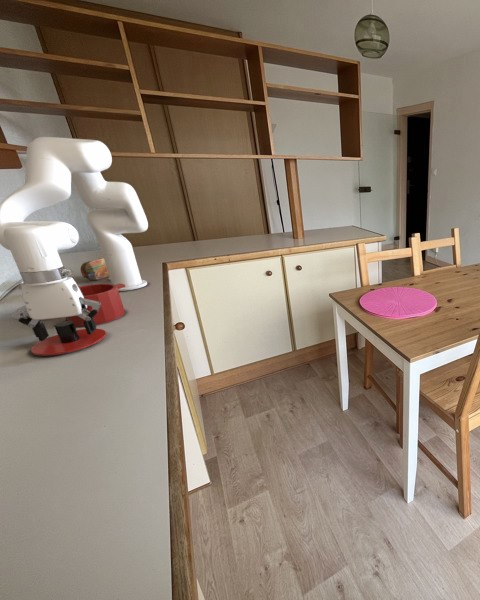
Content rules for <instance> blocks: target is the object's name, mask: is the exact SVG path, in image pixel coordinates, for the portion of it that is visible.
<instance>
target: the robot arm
mask: <svg viewBox="0 0 480 600" xmlns="http://www.w3.org/2000/svg"><path fill="white" fill-rule="evenodd" d="M112 157H113V156H112V154H111V151H110V149H109V147H108V146H107V145H106V144H105V143H104V142H102V141H100V140H96V139H85V138H71V137H70V138H69V137H55V136H38V137H36V138H34V139H33V140H32V141H31V142H30V143H29V144H28V145H27V147H26V159H25V175H24V184H23V185H21V187H19V188H16V190H14V191H13V192H11V193H10V194H9V195H8V196H7V197H5V198H4V199H3V200H2V201H1V202H0V246H1V247H3V248H4V249H6V250H8V251H10V253H11V256H12V257H13V261H14V262H15V265H16V267H17V269H18V271H19V274H20V276H21V279H22V281H24V282H23V283H22V284H21V287H22V290H21V294H22V299H23V303H24V305H22V306H21V307H18V308H17V309H15V310H13V311H12V312H10V316H11V317H13V318H14V319H16V320H17V321H18V322H19V323H21V324H22V325H26V326H27V327H28V328H29V329H32V332H33V333H34V336H35V337H36V338H37V339H38V342H40V341H43V340H45V339H47V338H49V337H50V335H49V332H48V330H47V327H46V325H45V323H44V322H42V321H45V320H53V319H62V318H63V319H64V318H66V317H71V316H79V317H80V318H82V319H84V320H85V321H84V322H83V323H84V326H83V327H84V329H86V331H87V334H92V333H93V332H94V331H95V329H97V325H95V322H94V319H93V317H94V316H95V315H96V314H97V313H98V311H99V309H100V306H101V303H100V302H97V301H93V300H89V299H85V298H84V297H83V295H82V293H81V291H80V289H79V285H78V284H77V282H76V281H75V280H74V278H73V277H72V276H69V275H73V273H74V272H73V270H72V269H71V268H69V269H68V268H66V267H65V266H64V265H63V262H62V259H61V257H60V255H59V251H65V250H70V249H73V248H75V246H77V245H78V243H79V240H80V235H79V231H78V230H77V229H76V227H74V226H73V225H72V224H71V223H68V222H65V221H59V220H46V221H45V220H44V221H40V220H39V221H37V220H36V221H31V220H30V221H25V220H26V219H27V217H29V216H30V215H31V214H33V213H35V212H37V211H39V210H42V209H44V208H48V207H51V206H53V205H57V204H59V203H62V202H65V201H66V200H68V199H70V197H71V195H72V185H73V187H74V189H75V191H76V192H77V194H78V196H79V198H80V200H81V201H82V202H83V204H84V205H85V206H86V207H88V208H90V209H92V210H89V212H88V213H87V215H86V219H87V222H88V224H89V226H90V228H91V230H92V232H93V234H94V236H95V238H96V241H97V243H98V245H99V248H100V251H101V254H102V258H104V261H105V264H106V267H107V270H108V273H109V276H108V277H107V278H108V281H110V282H111V283H110V284H114V285H116V284H125V287H124V288H120V289H118V291H119V292H127V291H133V290H137V289H140V288H141V289H142V288H143V287H146V286H147V285H148V281H147V280H145V279H142V277H141V274H140V273H141V272H140V269H139V266H138V263H137V259H136V255H135V252H134V249H133V248H134V247H133V245H132V243H131V241H129V240H128V238H126V237H125V236H123V234H139V233H140V234H141V233H144V232H147V231H148V228H149V221H148V219H147V215H146V213H145V210H144V208H143V206H142V203H141V201H140V199H139V196H138V194H137V191H136V190H135V188H134V187H133V186H132V185H131V184H129V183H127V182H124V181H107V180H105V178H104V177H103V175H102V173H101V172H104V171H106V170H108V169H109V168H110V167H111V166H112V162H113V158H112ZM87 305H88V306H92V311H91V312H89V311H88V310H86V309H87ZM26 312H27V314H28V316H27V315H25V314H24V313H26Z"/></svg>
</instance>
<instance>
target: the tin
mask: <svg viewBox="0 0 480 600" xmlns="http://www.w3.org/2000/svg"><path fill="white" fill-rule="evenodd" d="M80 273H81V275H82V277H83V278H84V279H86V280H88V281H99V280H102V279H105V278H109V277H110V276H109V273H108V270H107V267H106V264H105V261H104V258H103V257H99V258H96V259H92V260H89V261H85V262H83V263H82V264H81V266H80Z"/></svg>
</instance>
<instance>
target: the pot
mask: <svg viewBox="0 0 480 600" xmlns="http://www.w3.org/2000/svg"><path fill="white" fill-rule="evenodd" d="M78 287H79V289H80V291H81V293H82V295H83V297H84V298H85V299H89V300H93V301H97V302H100V303H101V306H100V309H99V311H98V313H97V314H96V315H95V316H94V317H93V319H94V322H95V325H96V326H97V325H102V324H106V323H109V322H113V321H115V320H117V319H120V318H121V317H123V316H124V315H125V313H126V312H125V307H124V304H123V302H122V298H121V294H120V291H118V289H120V288H124V287H125V284H116V285H114V284H112V283H95V284H87V285H78ZM86 310H88V311H89V312H91V311H92V306H88V305H87V309H86ZM65 319H66V321H73V322H74V325H75V328H76V327H79V328H80V327H85V326H84V323H83V322H84V321H85V320H84V319H82V318H80V317H79V316H71V317H65Z"/></svg>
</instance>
